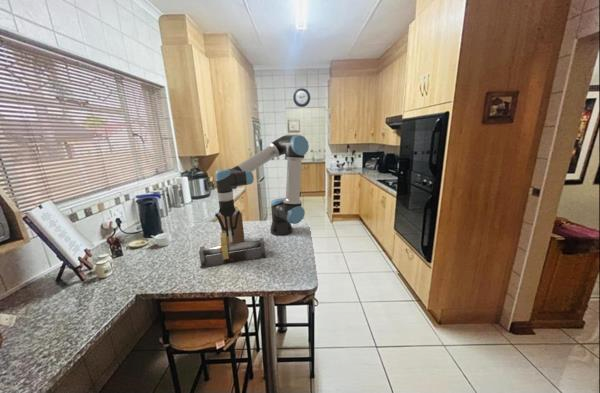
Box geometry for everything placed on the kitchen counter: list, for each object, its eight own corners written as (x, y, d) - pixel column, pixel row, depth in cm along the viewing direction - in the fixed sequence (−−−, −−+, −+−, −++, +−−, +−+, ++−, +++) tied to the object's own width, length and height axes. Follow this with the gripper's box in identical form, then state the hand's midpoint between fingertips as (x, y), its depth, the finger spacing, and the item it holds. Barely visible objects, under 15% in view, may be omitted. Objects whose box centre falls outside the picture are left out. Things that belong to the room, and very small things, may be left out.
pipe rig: (263, 248, 147) (262, 235, 145) (266, 257, 136) (264, 243, 134) (203, 257, 139) (201, 244, 137) (200, 268, 128) (198, 254, 126)
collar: (229, 252, 140) (226, 232, 137) (228, 258, 133) (226, 237, 130) (223, 252, 140) (220, 232, 136) (223, 259, 132) (220, 238, 129)
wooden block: (232, 248, 150) (228, 216, 144) (222, 244, 155) (218, 213, 150) (245, 241, 157) (242, 212, 152) (235, 238, 163) (231, 209, 158)
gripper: (238, 196, 134) (242, 236, 140) (213, 199, 131) (218, 240, 137) (239, 199, 127) (243, 242, 133) (212, 202, 124) (218, 245, 130)
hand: (231, 241), depth 135 cm, fingers closed
